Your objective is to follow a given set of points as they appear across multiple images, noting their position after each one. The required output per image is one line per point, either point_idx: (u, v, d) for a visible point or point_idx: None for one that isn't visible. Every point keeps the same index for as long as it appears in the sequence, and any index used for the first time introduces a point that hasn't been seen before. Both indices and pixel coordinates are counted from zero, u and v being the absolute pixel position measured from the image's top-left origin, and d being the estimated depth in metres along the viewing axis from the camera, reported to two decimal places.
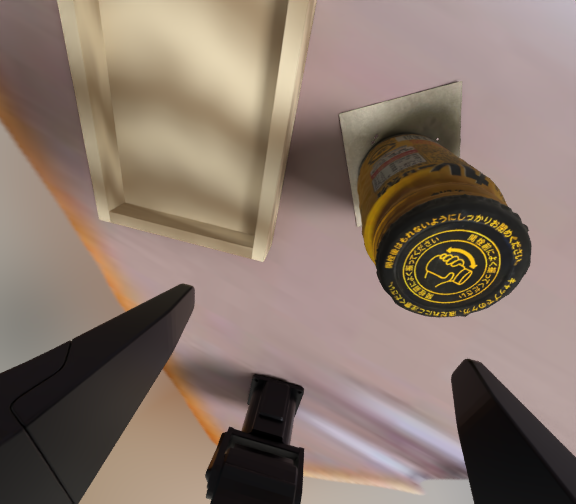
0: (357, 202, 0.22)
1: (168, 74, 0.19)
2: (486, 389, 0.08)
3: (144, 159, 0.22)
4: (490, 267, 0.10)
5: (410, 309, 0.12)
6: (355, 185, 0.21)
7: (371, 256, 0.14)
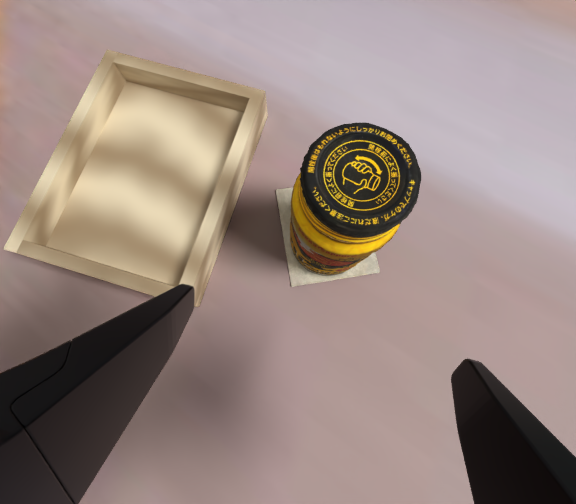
0: (291, 262, 0.23)
1: (147, 147, 0.24)
2: (486, 389, 0.08)
3: (92, 205, 0.23)
4: (392, 172, 0.12)
5: (336, 219, 0.12)
6: (289, 246, 0.24)
7: (299, 219, 0.14)
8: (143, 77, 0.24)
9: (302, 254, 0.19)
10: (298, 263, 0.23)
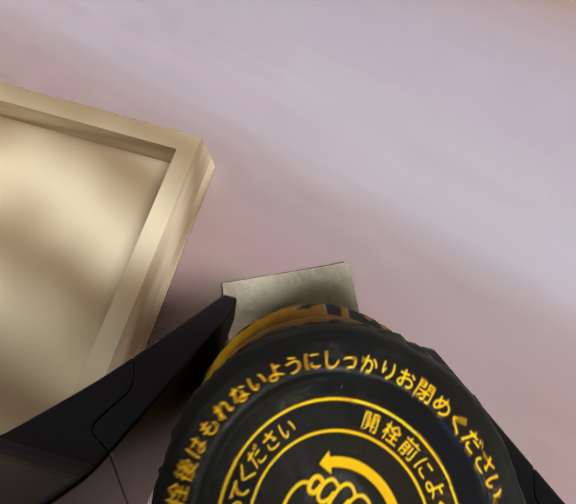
0: None
1: (23, 221, 0.16)
2: None
3: None
4: None
5: None
6: None
7: None
8: (18, 112, 0.16)
9: None
10: None
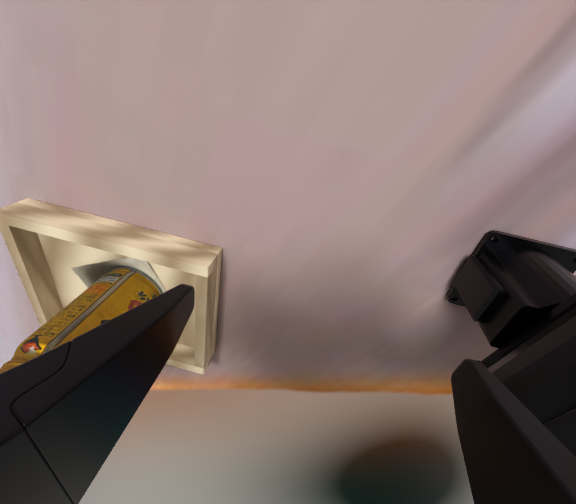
0: None
1: None
2: (486, 389, 0.08)
3: None
4: None
5: None
6: None
7: None
8: (50, 304, 0.29)
9: None
10: None
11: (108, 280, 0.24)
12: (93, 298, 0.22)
